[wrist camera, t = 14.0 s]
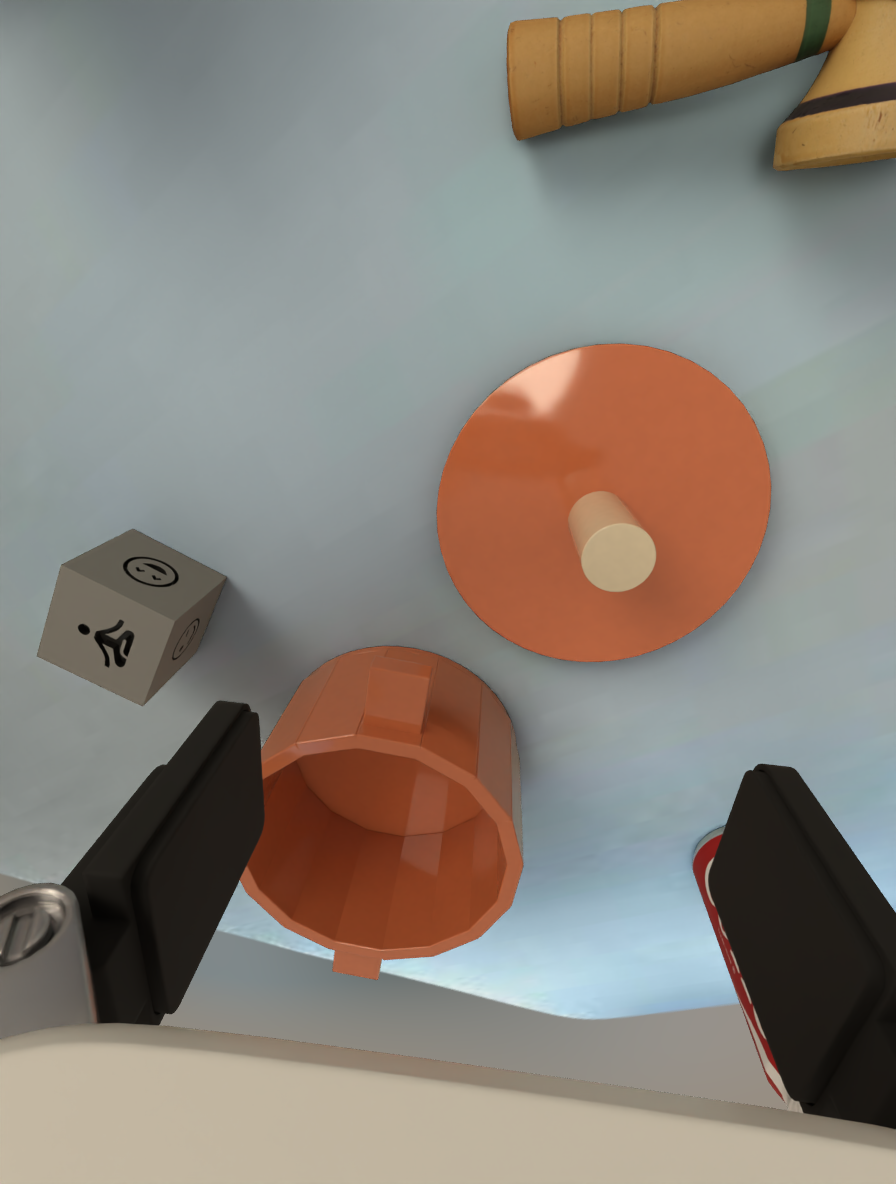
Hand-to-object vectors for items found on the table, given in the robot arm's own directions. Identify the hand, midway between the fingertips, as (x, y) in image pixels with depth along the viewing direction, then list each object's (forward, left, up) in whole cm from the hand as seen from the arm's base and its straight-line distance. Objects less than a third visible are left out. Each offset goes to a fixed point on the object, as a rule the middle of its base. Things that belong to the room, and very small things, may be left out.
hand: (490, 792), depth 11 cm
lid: (+4, +2, -16) cm, 17 cm away
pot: (-3, -13, -17) cm, 22 cm away
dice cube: (-16, -6, -17) cm, 24 cm away
